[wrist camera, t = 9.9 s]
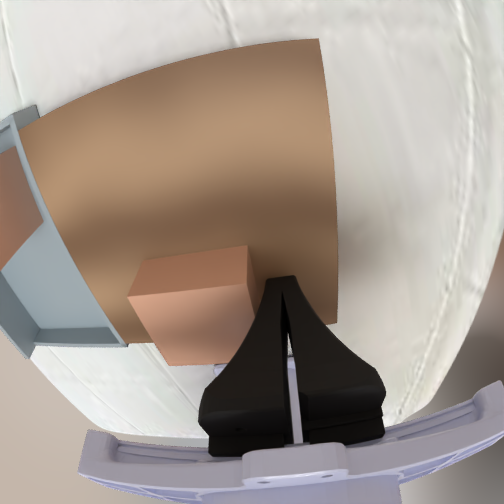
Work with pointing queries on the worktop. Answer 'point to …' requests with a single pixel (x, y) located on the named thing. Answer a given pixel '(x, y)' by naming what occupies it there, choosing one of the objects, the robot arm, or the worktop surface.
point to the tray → (46, 278)
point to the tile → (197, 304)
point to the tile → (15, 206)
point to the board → (196, 172)
